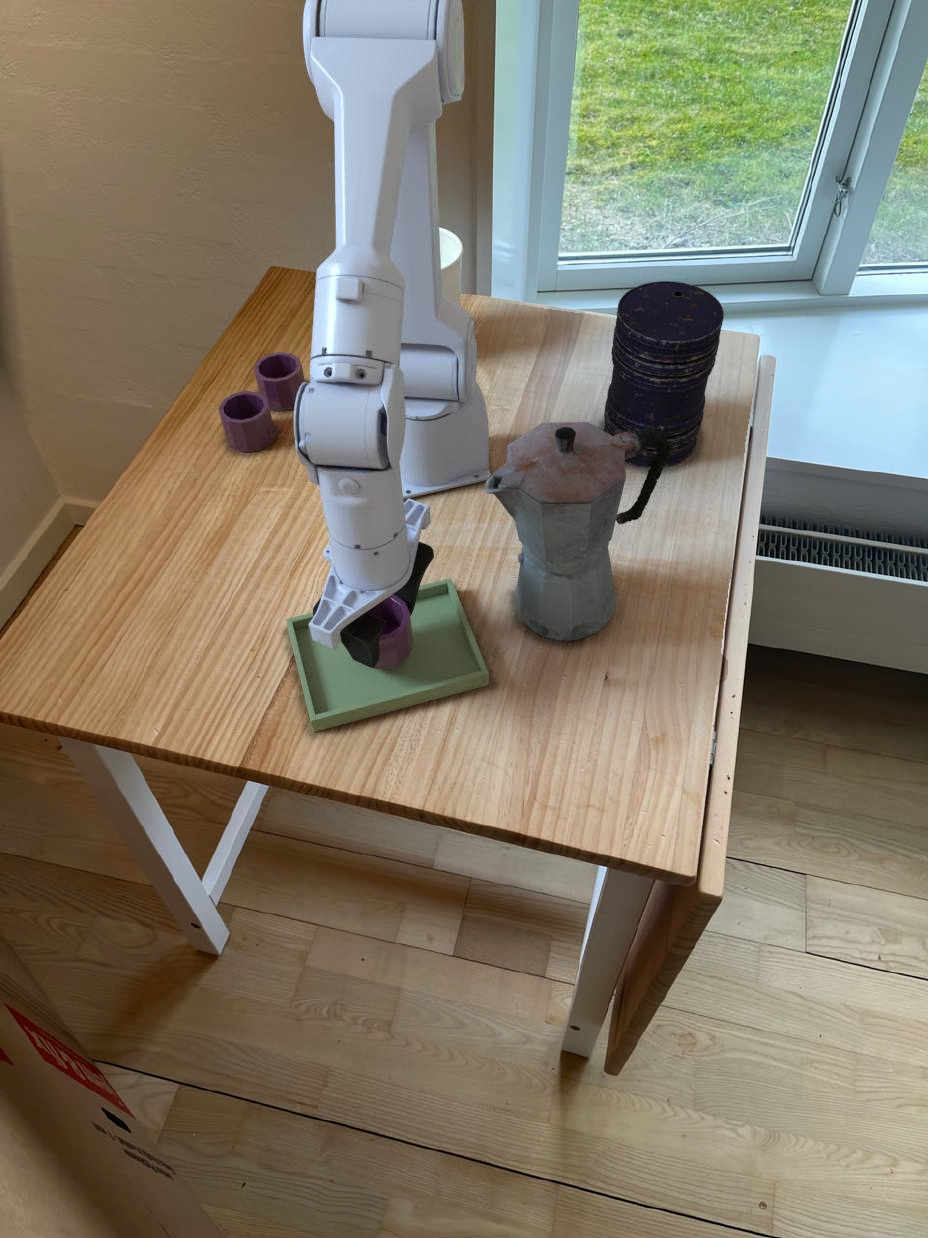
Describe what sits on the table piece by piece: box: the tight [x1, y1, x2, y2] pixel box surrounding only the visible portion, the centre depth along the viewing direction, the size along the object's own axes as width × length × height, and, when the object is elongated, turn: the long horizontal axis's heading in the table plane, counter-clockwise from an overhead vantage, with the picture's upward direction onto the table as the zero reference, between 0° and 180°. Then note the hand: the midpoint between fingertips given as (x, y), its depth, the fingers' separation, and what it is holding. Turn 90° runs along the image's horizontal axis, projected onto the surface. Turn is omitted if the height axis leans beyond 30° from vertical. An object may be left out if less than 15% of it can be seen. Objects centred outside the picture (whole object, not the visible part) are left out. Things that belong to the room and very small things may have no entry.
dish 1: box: [218, 390, 276, 453], centre depth 98 cm, size 5×5×4 cm
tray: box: [285, 577, 490, 733], centre depth 81 cm, size 15×11×2 cm
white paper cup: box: [439, 226, 464, 307], centre depth 105 cm, size 10×10×12 cm
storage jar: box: [602, 280, 725, 469], centre depth 93 cm, size 10×10×15 cm
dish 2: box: [365, 594, 413, 669], centre depth 79 cm, size 5×5×4 cm
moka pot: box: [483, 421, 673, 642], centre depth 77 cm, size 10×15×20 cm, turn 113°
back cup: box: [253, 351, 306, 412], centre depth 102 cm, size 5×5×4 cm
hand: (383, 635), depth 79 cm, fingers closed on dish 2, 5 cm apart
